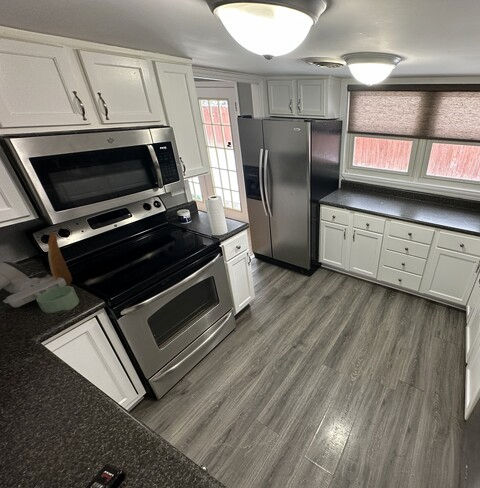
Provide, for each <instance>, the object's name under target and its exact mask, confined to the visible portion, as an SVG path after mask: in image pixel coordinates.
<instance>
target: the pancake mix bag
mask: <svg viewBox="0 0 480 488" xmlns="http://www.w3.org/2000/svg"><path fill="white" fill-rule="evenodd" d="M57 239H58V238H57V236H56V235H55V232H53V231H50V233H49V238H48V242H47V246H48V249H47V250H48V251H47V255H48V257H47V259H48V264H49V269H50V273H51V277H54V278H55V280H57V279H58V278H59V277H60V278H63V279H64V280H65V282H66V285H65V286H71V283H72V282H73V280H72V279H73V276H72V274H71V272H70V269H69V268H68V266H67V263H66V261H65V259H64V257H63V255H62V252H61V250H60V247H59V244H58V240H57Z"/></svg>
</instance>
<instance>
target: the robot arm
mask: <svg viewBox="0 0 480 488" xmlns="http://www.w3.org/2000/svg"><path fill="white" fill-rule="evenodd" d="M65 285H66V282H65V280H64V279H63V278H60V277H59V278H58V279H57V280H55V278H54V277H52V275H51V274H45V275H42V276H38V277H32V278H30V277H29V273H28V271H27V269H26V268H25V267H23V266H22V265H20V264H19V263H16V262H13V261H0V291H1V290H2V289H4V290H5V291H7V292H9V293H11V294H10V295H8V296H7V297H6V298H5V299H3V300H2V303H4V304H9V306H11V307H12V308H20V307H22V306H25V304H28V303H30V302H32V301H35V300H36V299H37V297H38V296H39V295H40V294H42V293H44V292H46V291H48V290H50V289H53V288H57V287H62V286H65Z"/></svg>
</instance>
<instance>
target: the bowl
mask: <svg viewBox="0 0 480 488" xmlns="http://www.w3.org/2000/svg"><path fill="white" fill-rule="evenodd" d="M35 300H36V302H37V304H38V306H39V308H40V310H41V312H44V313H49V314H51V313H57V312H60V311H72V310H73V309H75V307H77V306H78V305H79V303H80V298H79V297H78V294H77V292H76V290H75V288H74V287H73V286H71V285H70V286H62V287H57V288H53V289H50V290H48V291H46V292H44V293H42V294H40V295H39V296H38V297H37V299H35Z"/></svg>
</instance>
